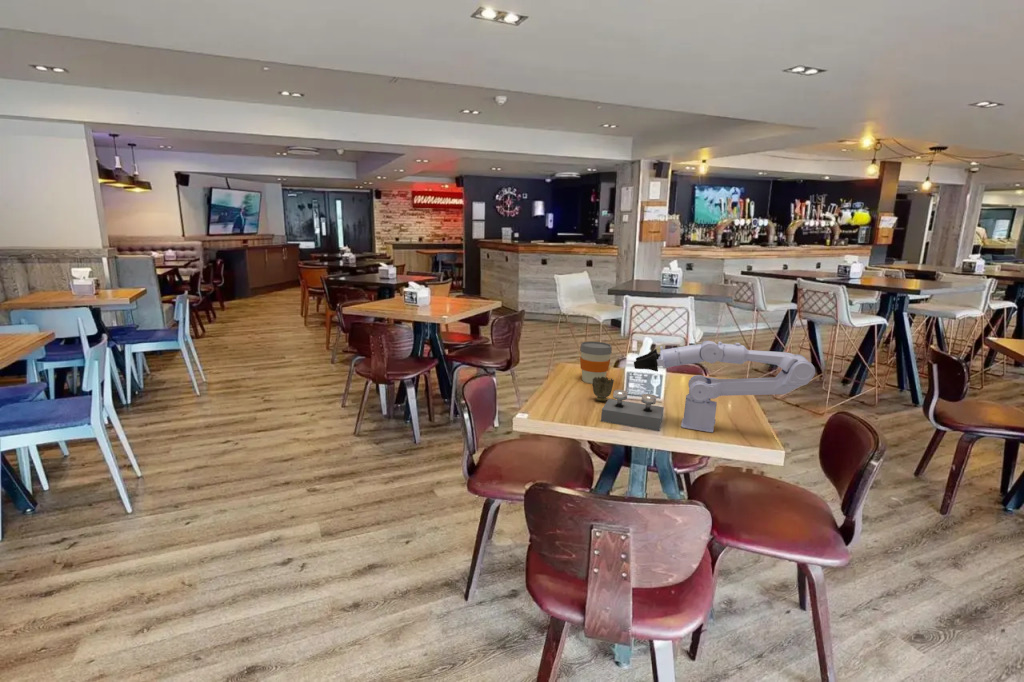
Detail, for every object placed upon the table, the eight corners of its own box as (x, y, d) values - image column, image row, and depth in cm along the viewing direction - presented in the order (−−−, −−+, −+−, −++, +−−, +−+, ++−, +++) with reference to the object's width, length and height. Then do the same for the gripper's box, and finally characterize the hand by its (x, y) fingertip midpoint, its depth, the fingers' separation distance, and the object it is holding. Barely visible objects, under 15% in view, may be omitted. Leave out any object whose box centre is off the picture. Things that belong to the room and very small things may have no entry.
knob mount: (662, 418, 170) (663, 407, 169) (659, 431, 159) (660, 418, 158) (607, 409, 176) (608, 398, 175) (600, 421, 165) (601, 409, 164)
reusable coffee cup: (611, 385, 204) (615, 348, 201) (580, 384, 204) (582, 347, 201) (605, 377, 217) (608, 342, 214) (575, 375, 216) (578, 340, 213)
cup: (586, 399, 186) (588, 378, 184) (600, 396, 191) (601, 375, 189) (602, 405, 180) (604, 383, 179) (616, 401, 185) (618, 380, 184)
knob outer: (627, 404, 169) (628, 391, 168) (625, 408, 165) (626, 394, 164) (613, 402, 171) (614, 389, 170) (611, 406, 167) (612, 392, 166)
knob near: (655, 408, 166) (657, 395, 165) (654, 413, 162) (655, 399, 161) (641, 406, 168) (642, 393, 167) (639, 410, 164) (641, 396, 163)
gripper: (677, 340, 169) (634, 348, 173) (676, 347, 155) (630, 354, 160) (681, 362, 169) (638, 368, 174) (680, 370, 155) (635, 376, 160)
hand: (635, 363), depth 167 cm, fingers open, 7 cm apart
